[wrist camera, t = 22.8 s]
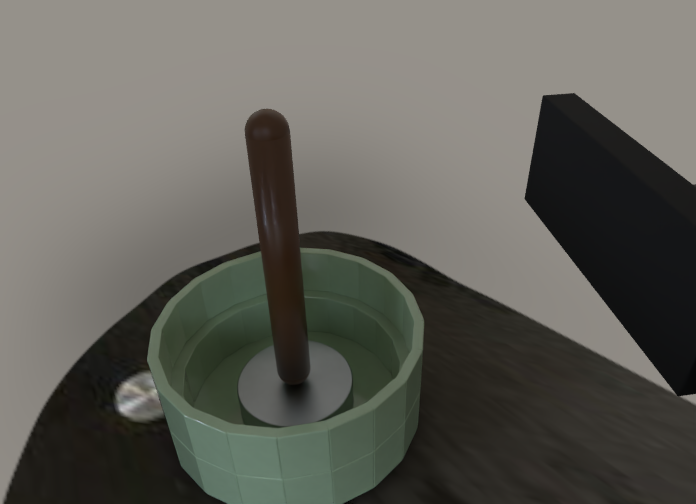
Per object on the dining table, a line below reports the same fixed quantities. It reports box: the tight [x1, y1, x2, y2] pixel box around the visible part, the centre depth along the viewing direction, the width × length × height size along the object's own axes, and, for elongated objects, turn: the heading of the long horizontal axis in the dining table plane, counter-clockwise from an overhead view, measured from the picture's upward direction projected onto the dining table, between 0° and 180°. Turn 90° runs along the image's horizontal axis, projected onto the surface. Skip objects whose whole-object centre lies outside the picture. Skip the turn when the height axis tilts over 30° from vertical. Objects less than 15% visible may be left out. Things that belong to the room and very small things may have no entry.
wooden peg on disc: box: [237, 109, 354, 428], centre depth 31 cm, size 7×7×19 cm
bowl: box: [147, 248, 424, 504], centre depth 35 cm, size 15×15×7 cm
